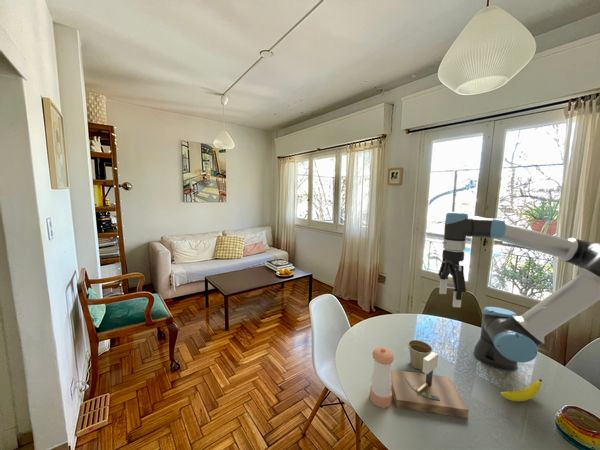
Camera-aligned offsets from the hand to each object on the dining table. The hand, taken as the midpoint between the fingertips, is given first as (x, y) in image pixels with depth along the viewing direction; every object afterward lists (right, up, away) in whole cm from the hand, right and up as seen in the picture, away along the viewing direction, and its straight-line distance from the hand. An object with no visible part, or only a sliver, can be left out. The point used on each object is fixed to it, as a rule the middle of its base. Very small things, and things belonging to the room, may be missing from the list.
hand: (449, 299), depth 103 cm
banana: (+16, -31, -16) cm, 38 cm away
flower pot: (-12, -29, +2) cm, 31 cm away
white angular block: (-17, -27, -14) cm, 35 cm away
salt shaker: (-34, -30, -16) cm, 48 cm away
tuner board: (-18, -30, -14) cm, 38 cm away
